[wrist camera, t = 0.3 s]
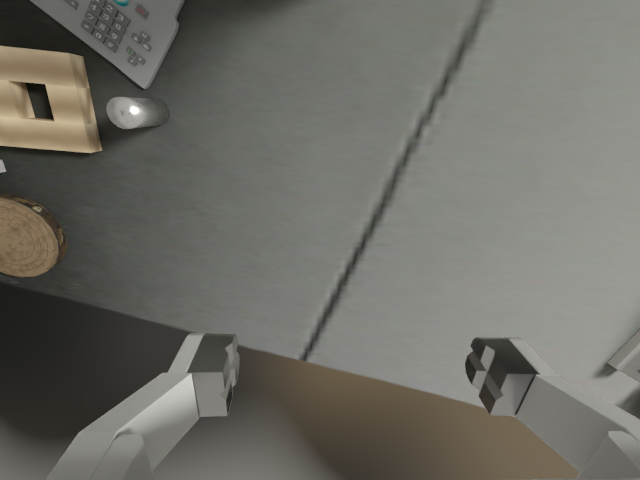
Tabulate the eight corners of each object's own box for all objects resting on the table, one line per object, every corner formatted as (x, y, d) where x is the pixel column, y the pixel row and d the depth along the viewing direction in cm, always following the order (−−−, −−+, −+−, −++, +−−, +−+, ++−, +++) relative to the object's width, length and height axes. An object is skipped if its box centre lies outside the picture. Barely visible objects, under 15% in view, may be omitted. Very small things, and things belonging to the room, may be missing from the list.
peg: (142, 97, 48) (103, 95, 39) (167, 100, 48) (135, 98, 39) (146, 124, 50) (109, 127, 40) (170, 126, 50) (140, 130, 41)
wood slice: (48, 283, 61) (36, 291, 59) (-37, 237, 57) (-54, 243, 54) (82, 229, 57) (71, 235, 54) (-7, 174, 52) (-24, 178, 50)
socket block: (-16, 46, 44) (-37, 42, 42) (83, 56, 45) (68, 53, 43) (15, 143, 50) (-2, 145, 47) (102, 150, 51) (90, 153, 48)
